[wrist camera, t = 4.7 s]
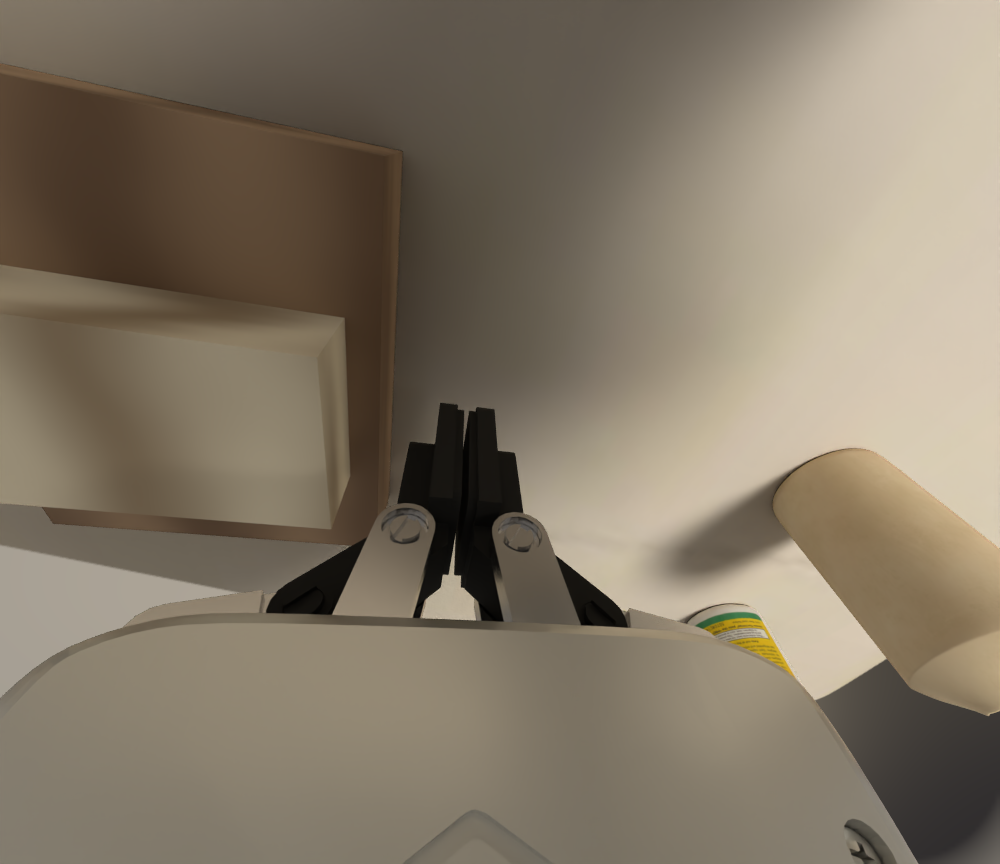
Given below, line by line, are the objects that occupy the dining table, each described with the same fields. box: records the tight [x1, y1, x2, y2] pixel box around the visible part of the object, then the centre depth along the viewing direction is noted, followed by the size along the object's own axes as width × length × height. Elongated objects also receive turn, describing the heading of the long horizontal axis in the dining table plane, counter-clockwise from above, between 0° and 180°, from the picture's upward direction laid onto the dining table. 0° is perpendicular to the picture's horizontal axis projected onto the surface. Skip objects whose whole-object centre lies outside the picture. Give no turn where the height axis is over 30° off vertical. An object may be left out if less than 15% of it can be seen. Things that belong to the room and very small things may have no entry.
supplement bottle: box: [687, 604, 804, 687], centre depth 25 cm, size 5×5×10 cm
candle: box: [772, 449, 1000, 716], centre depth 17 cm, size 6×6×10 cm
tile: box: [0, 265, 350, 529], centre depth 11 cm, size 9×6×2 cm, turn 79°
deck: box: [0, 63, 403, 545], centre depth 14 cm, size 12×14×3 cm
